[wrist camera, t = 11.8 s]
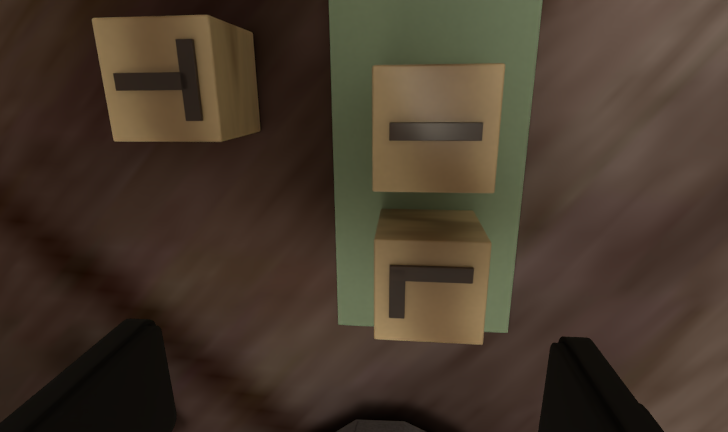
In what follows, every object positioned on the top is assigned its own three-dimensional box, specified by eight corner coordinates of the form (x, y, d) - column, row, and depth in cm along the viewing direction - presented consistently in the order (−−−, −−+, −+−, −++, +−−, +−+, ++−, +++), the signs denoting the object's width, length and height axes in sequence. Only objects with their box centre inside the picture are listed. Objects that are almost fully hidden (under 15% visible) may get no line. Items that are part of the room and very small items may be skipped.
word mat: (339, 321, 25) (338, 325, 25) (326, -100, 19) (325, -104, 19) (506, 329, 24) (507, 333, 24) (552, -112, 18) (555, -117, 18)
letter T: (174, 131, 23) (109, 142, 18) (160, 34, 21) (86, 16, 16) (261, 131, 22) (219, 142, 17) (253, 32, 21) (205, 13, 16)
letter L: (380, 290, 24) (373, 342, 19) (380, 208, 22) (373, 240, 18) (467, 294, 23) (484, 348, 18) (473, 210, 22) (493, 244, 17)
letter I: (379, 170, 22) (371, 193, 17) (380, 71, 20) (371, 64, 16) (475, 171, 21) (496, 195, 16) (482, 69, 20) (507, 62, 15)
